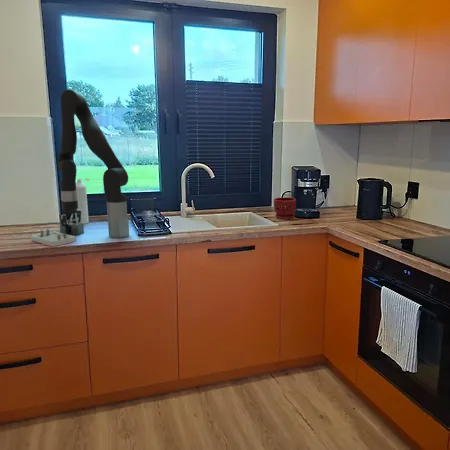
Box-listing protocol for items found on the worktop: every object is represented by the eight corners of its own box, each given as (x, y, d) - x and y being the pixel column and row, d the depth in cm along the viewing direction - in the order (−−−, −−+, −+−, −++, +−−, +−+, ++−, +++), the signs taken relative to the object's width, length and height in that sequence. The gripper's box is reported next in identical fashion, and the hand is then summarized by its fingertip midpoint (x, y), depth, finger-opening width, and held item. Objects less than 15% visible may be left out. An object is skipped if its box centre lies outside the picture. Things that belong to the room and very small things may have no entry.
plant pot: (282, 215, 257) (283, 196, 255) (299, 218, 248) (300, 198, 245) (268, 218, 249) (269, 198, 246) (285, 221, 239) (286, 201, 237)
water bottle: (75, 224, 231) (72, 179, 226) (77, 221, 237) (74, 178, 232) (92, 223, 233) (89, 179, 227) (93, 221, 239) (90, 177, 233)
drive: (84, 233, 211) (83, 223, 209) (78, 235, 206) (78, 225, 205) (66, 232, 212) (65, 222, 211) (60, 234, 208) (59, 224, 207)
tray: (76, 241, 194) (75, 232, 193) (52, 246, 185) (51, 237, 184) (55, 235, 205) (54, 227, 204) (31, 240, 196) (30, 231, 195)
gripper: (72, 197, 213) (74, 229, 217) (53, 201, 200) (56, 235, 203) (84, 197, 211) (87, 230, 215) (66, 202, 198) (69, 236, 201)
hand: (72, 232), depth 209 cm, fingers closed on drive, 5 cm apart
